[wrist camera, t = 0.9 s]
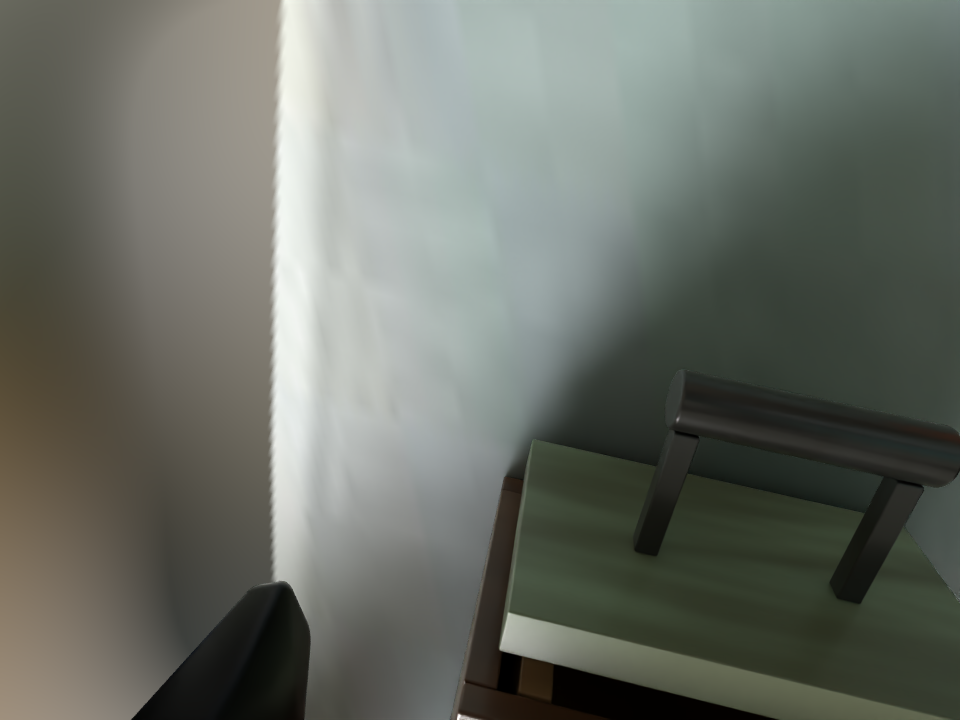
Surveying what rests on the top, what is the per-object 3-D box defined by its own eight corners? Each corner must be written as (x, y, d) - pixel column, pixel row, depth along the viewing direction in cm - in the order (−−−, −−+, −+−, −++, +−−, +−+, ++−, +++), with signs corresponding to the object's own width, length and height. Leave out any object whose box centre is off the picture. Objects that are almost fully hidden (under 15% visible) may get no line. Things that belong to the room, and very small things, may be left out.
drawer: (567, 292, 18) (557, 411, 12) (979, 378, 17) (1222, 558, 11) (465, 722, 26) (424, 943, 19) (749, 794, 25) (810, 1051, 18)
